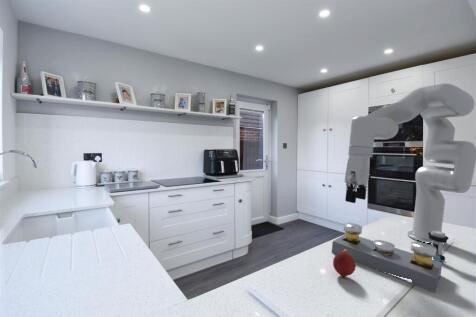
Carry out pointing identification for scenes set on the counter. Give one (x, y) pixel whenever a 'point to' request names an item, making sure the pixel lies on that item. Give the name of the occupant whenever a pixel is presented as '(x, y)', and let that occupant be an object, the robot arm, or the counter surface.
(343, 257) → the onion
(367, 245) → the knob panel
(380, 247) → the knob middle
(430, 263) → the knob
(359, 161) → the robot arm
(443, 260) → the push button
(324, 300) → the counter surface
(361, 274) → the counter surface
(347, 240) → the knob
